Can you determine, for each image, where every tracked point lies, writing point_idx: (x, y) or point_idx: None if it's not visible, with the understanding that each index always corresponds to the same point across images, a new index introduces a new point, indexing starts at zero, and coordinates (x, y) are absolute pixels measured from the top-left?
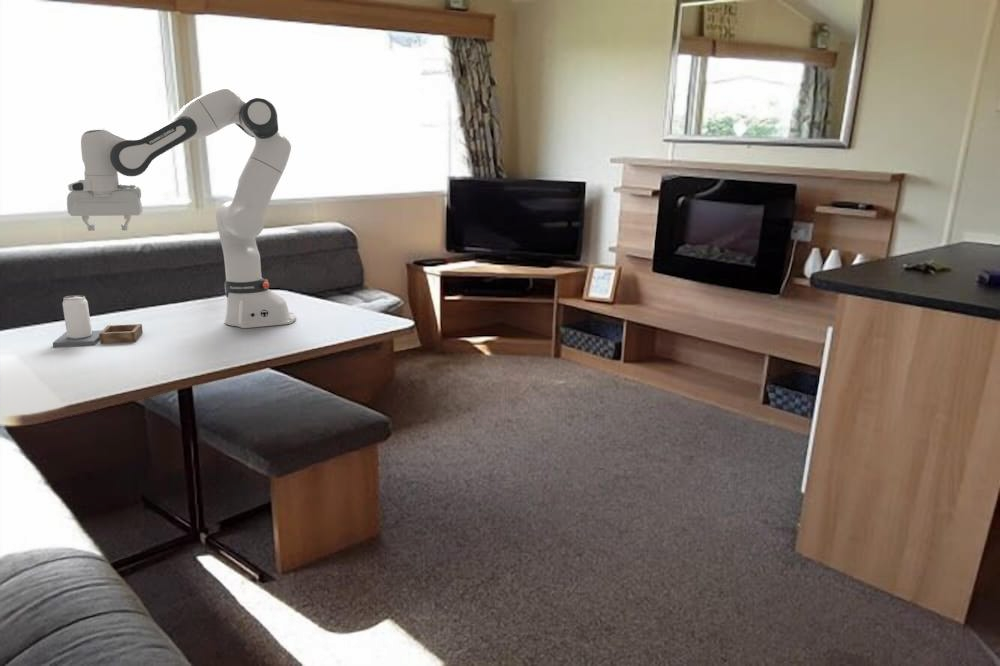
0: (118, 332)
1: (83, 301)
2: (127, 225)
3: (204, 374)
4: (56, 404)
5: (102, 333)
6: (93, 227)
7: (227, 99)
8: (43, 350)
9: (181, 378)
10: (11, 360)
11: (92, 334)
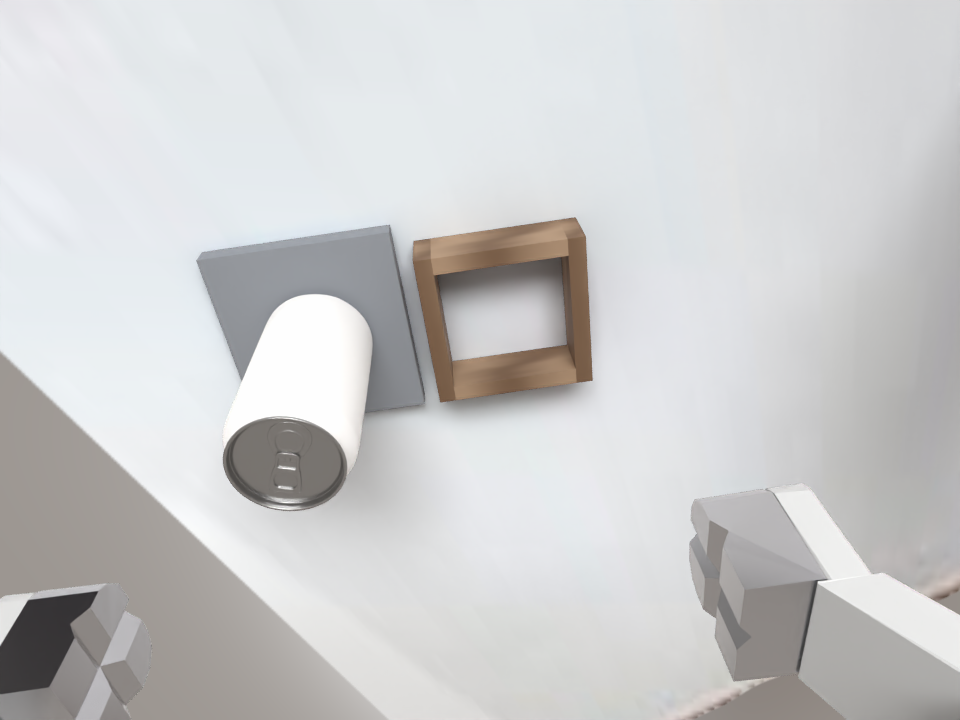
0: (521, 385)
1: (351, 465)
2: (846, 571)
3: None
4: None
5: (454, 399)
6: (91, 655)
7: None
8: None
9: None
10: (221, 551)
11: (363, 308)
